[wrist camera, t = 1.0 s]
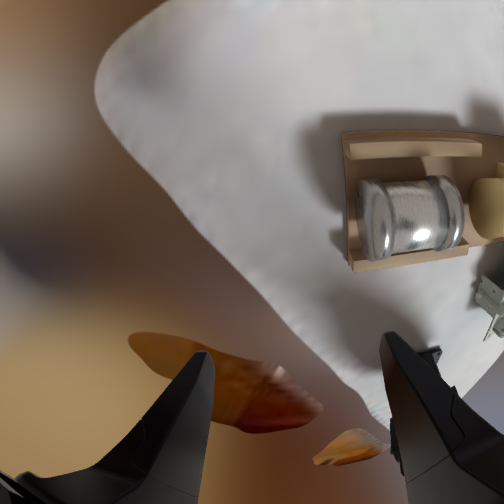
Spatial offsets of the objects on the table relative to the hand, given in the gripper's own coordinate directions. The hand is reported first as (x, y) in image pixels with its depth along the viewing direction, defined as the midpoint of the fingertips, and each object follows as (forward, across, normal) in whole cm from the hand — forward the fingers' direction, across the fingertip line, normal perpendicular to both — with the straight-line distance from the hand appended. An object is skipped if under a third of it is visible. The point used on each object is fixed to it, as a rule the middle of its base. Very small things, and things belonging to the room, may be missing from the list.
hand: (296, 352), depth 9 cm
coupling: (+12, -8, 0) cm, 14 cm away
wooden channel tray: (+12, -13, 0) cm, 18 cm away
